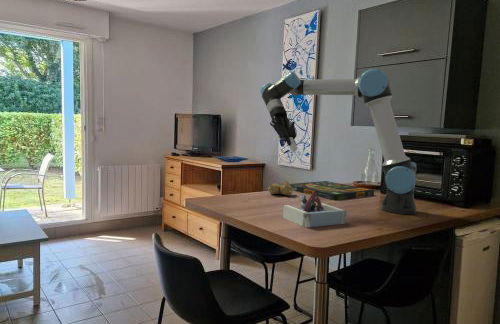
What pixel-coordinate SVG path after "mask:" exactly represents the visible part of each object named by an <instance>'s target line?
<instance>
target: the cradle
mask: <svg viewBox="0 0 500 324" xmlns="http://www.w3.org/2000/svg"><path fill="white" fill-rule="evenodd" d="M321 204H322V205H321V206H323V207H324V211H319V212H305V211H303V210H301V208H300V209H299V208H297V207H294V206H291V205H289V204H284V205H283V212H282V213H283V214H282V218H283V219H285V220H287V221H290V222H292V223H295V224H297V225H298V226H299V225H300V226H302V227H304V228H312V227H313V228H314V227H323V226H324V227H325V226H333V225H343V224H346V223H347V222H346V221H347V210H345V209H342V208H339V207H337V206H333V205H329V204H326V203H324V202H321Z"/></svg>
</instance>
